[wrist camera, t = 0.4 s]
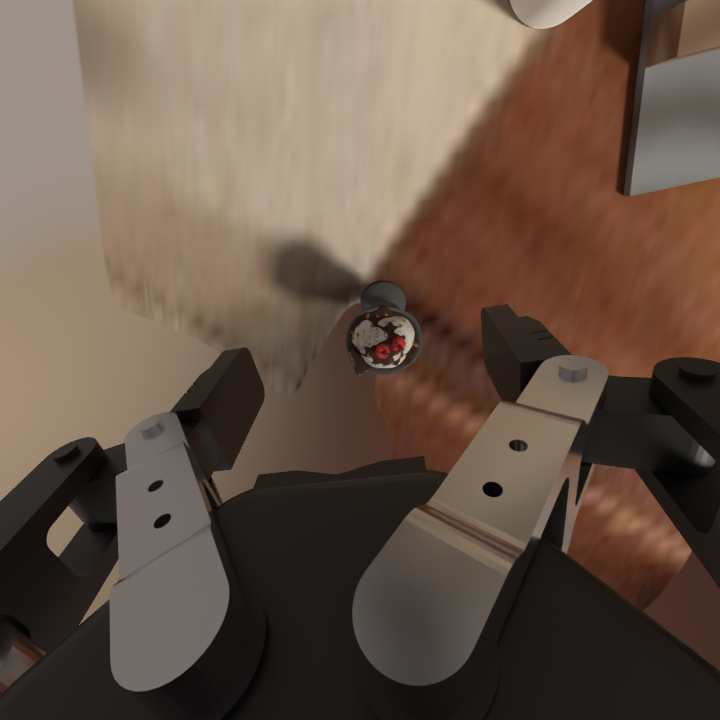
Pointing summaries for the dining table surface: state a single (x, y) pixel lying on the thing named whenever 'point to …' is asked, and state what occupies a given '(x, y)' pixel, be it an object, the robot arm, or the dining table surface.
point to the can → (546, 11)
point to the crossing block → (676, 97)
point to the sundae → (383, 332)
